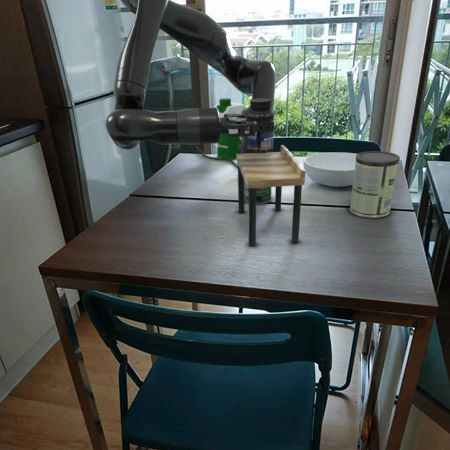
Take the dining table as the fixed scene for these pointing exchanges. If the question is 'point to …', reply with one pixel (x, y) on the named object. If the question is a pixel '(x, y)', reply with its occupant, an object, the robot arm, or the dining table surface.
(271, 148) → the pill bottle
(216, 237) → the dining table surface
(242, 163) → the shelf riser
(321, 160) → the serving bowl
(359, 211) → the coffee can
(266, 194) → the canned tomato
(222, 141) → the milk carton
